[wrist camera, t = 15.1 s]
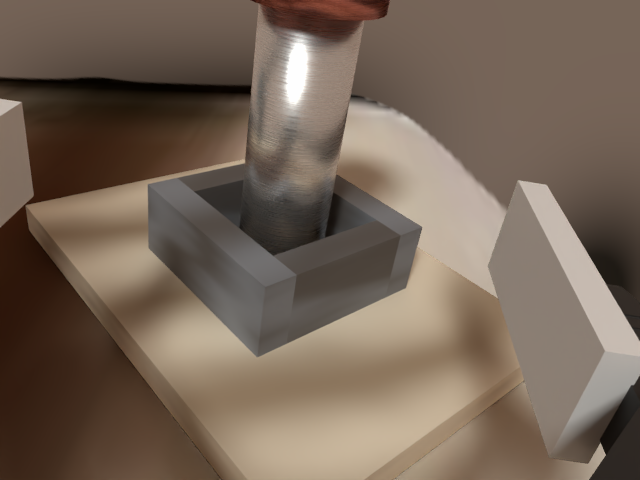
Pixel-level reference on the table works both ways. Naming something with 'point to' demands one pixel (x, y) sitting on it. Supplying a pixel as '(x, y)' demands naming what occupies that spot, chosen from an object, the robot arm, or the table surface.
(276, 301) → the socket
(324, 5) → the pin
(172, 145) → the table surface
